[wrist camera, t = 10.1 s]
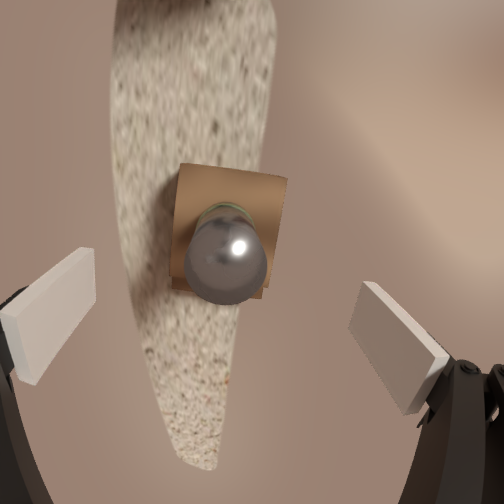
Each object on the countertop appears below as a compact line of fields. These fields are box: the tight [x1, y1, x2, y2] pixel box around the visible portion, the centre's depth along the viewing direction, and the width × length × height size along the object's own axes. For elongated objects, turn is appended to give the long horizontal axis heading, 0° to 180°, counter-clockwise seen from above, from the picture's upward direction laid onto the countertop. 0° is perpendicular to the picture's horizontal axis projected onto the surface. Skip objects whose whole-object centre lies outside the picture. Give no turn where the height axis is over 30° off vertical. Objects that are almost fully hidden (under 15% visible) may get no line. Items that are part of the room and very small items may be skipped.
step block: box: [169, 163, 287, 299], centre depth 31 cm, size 14×10×5 cm
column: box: [184, 202, 267, 305], centre depth 23 cm, size 5×5×11 cm
